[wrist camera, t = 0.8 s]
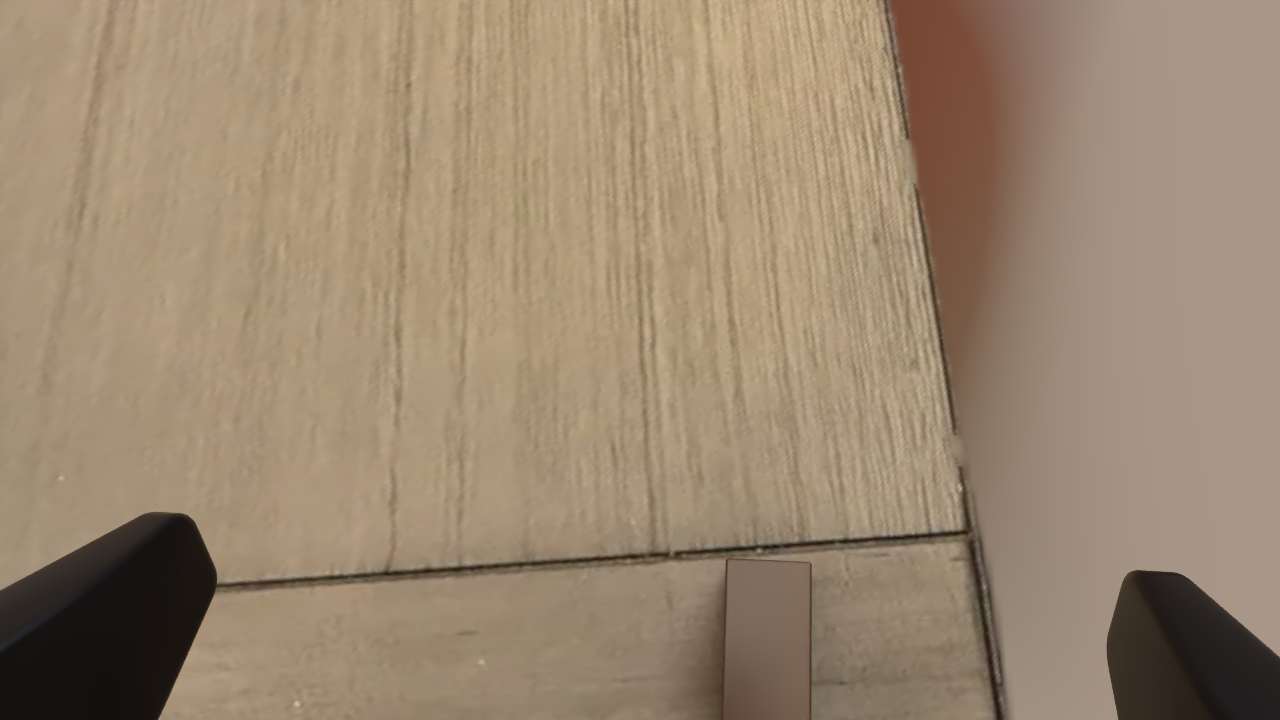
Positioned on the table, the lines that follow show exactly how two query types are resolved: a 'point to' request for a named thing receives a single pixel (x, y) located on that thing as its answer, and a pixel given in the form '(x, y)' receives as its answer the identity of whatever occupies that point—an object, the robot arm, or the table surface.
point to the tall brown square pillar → (767, 640)
